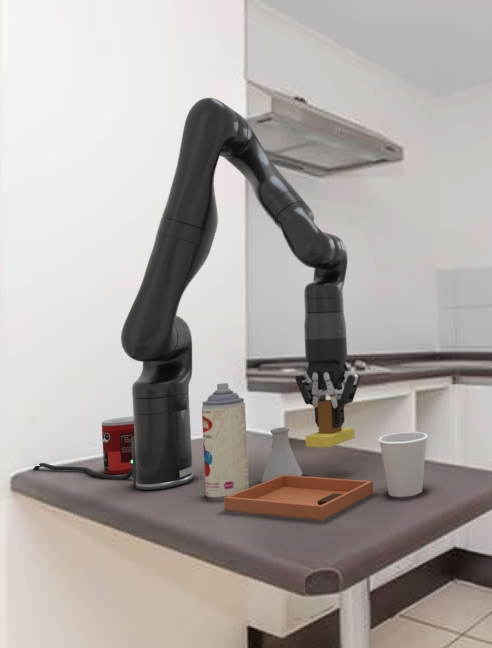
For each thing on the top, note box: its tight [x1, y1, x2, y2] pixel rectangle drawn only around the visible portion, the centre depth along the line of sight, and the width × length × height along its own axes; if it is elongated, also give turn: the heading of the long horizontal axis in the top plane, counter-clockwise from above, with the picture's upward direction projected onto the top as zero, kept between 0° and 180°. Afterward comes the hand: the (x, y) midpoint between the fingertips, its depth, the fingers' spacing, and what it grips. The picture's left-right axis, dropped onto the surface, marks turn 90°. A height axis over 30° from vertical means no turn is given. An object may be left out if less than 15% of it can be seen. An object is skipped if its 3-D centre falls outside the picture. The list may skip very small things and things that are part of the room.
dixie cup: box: [378, 431, 429, 498], centre depth 96 cm, size 8×8×10 cm
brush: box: [305, 399, 355, 449], centre depth 106 cm, size 5×8×8 cm, turn 161°
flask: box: [260, 426, 303, 483], centre depth 107 cm, size 7×7×10 cm
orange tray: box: [223, 475, 374, 521], centre depth 92 cm, size 19×13×2 cm
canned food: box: [101, 416, 134, 475], centre depth 120 cm, size 8×8×11 cm
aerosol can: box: [201, 382, 250, 499], centre depth 99 cm, size 7×7×20 cm
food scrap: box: [318, 493, 343, 505], centre depth 90 cm, size 4×4×1 cm
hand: (329, 426), depth 106 cm, fingers closed on brush, 3 cm apart
